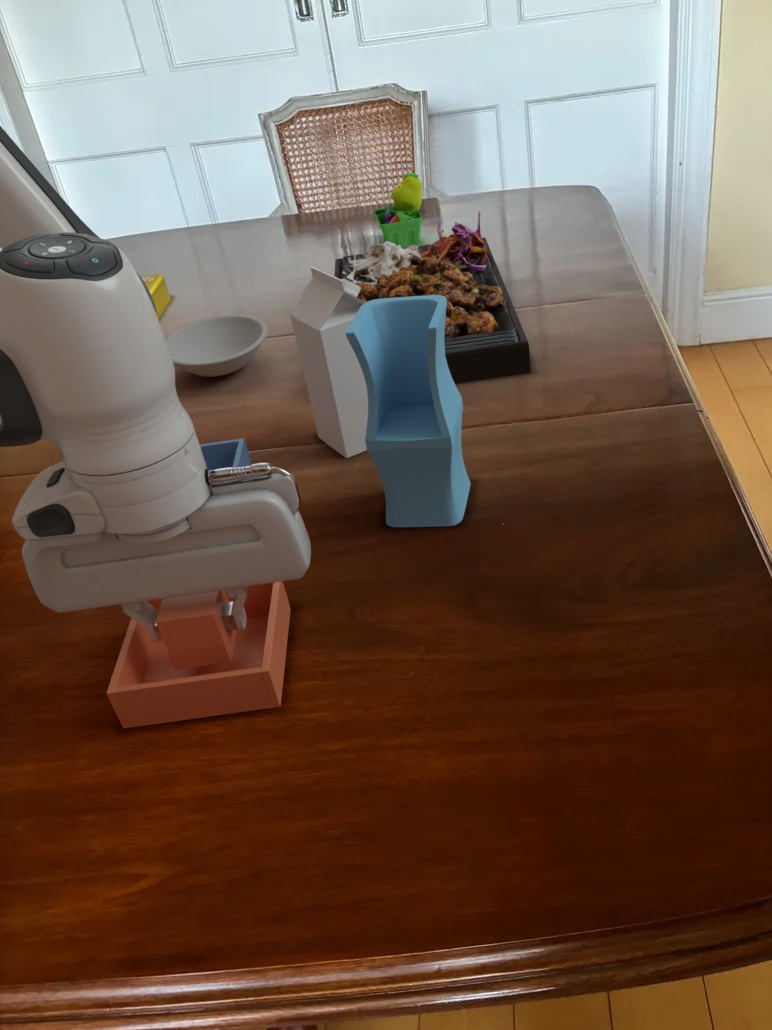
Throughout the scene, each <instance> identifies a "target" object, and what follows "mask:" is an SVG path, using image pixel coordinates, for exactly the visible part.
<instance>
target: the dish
mask: <svg viewBox="0 0 772 1030" xmlns="http://www.w3.org/2000/svg"><path fill="white" fill-rule="evenodd" d="M267 335H268V326H267V324H266V323H265V322H264V321H263V320H262V319H260V318H259V317H255V316H253V315H249V314H237V313H236V314H235V313H234V314H232V313H231V314H220V315H215V316H210V317H206V318H202V319H199V320H196V321H193V322H191V323H188V324H186V325H184V326H182V327H180V328H178V329H177V330H175V331H173V332H172V333H171V334H170V335H168V336H167V337H165V339H166V342H167V345H168V348H169V351H170V354H171V357H172V361H173V364H174V365H176V366H177V367H178V368H180V369H182V370H183V371H185V372H188V373H190V374H193V375H195V376H201V377H220V376H224V375H229V374H231V373H234V372H236V371H238V370H240V369H242V368H243V367H245V366H246V365H247V364H249V363H250V362H251V360H252V359H253V358H254V357H255V356H256V354H257V352H258V351H259V349H260V348H261V345H262V343H263V342H264V341H265V339H266V338H267Z"/></svg>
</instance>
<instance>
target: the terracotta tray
mask: <svg viewBox="0 0 772 1030" xmlns="http://www.w3.org/2000/svg"><path fill="white" fill-rule="evenodd" d="M225 591H226V594H227V597H228V600H229V602H232V601H233V600H234V598H230V597H229V596H228V593H227V590H226V589H225ZM147 602H148V603H149V604H150V605H152V606H153V607H154V608H155V609H156V610H157V611H158V612H159V608H160V605H161V602H162V599H155V600H148V601H147ZM244 609H245V613H246V618H247V621H246V627H245V629H242V630H237V633H236V638H235V644H234V650H233V655H232V661H231V662H229V663H222V664H215V665H208V666H201V667H194V668H187V669H180V670H175V668H174V665H173V663H172V660H171V658H170V656H169V653H168V651H167V648H166V646H165V643H164V641H157V642H153V641H152V639H151V637H150V634H149V632H148V630H147V627H144V626H142V625H141V624H139V623H138V622H137V621H135V620H134V619H132V618H131V617H130V620H129V624H128V627H127V630H126V633H125V636H124V639H123V642H122V644H121V648H120V651H119V653H118V657H117V660H116V663H115V665H114V670H113V672H112V675H111V678H110V681H109V684H108V687H107V690H106V696H107V698H108V700H109V702H110V705H111V706H112V708H113V711H114V713H115V715H116V716H117V719H118V721H119V723H120V725H121V727H122V729H128V728H129V729H130V728H137V727H143V726H151V725H158V724H165V723H171V722H178V721H187V720H194V719H201V718H207V717H216V716H222V715H228V714H229V715H230V714H237V713H245V712H252V711H257V710H258V711H259V710H265V709H266V710H267V709H272V708H273V709H274V708H279V707H281V705H282V696H283V686H284V675H285V669H286V668H285V667H286V659H287V647H288V637H289V628H290V619H291V611H292V609H291V606H290V602H289V598H288V595H287V592H286V588H285V584H284V581H281V582H274V583H267V584H260V585H253V586H249V587H248V593H247V597H246V600H245V603H244Z"/></svg>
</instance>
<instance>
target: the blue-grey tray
mask: <svg viewBox="0 0 772 1030" xmlns="http://www.w3.org/2000/svg"><path fill="white" fill-rule="evenodd" d="M199 444H200V443H199ZM200 447H201V450H202V453H203V457H204V460H205V463H206V466H207V469H208V470H211V469H219V468H226V467H243V466H250V465H251V464H253V463H252V460H251V456H250V453H249V449H248V445H247V443H246V439H245V438H244V437H243V438H242V437H241V438H236V439H228V440H221V441H215V442H208V443H201V444H200Z"/></svg>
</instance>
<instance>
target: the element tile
mask: <svg viewBox="0 0 772 1030" xmlns="http://www.w3.org/2000/svg"><path fill="white" fill-rule="evenodd" d="M140 277H141V278H142V279H143V281H144V282H145V284H146V286H147V287H148V289H149V291H150V293H151V296H152V298H153V301H154V304H155V307H156V312H157V317H158V320H160V318H161V316H162V314H163V313H164V311H165V309H166V308H167V306H168V305H169V303H170V301H171V295H170V292H169V288H168V285H167V282H166V279H165V276H164V275H163V274H161V273H158V274H157V273H156V274H148V275H142V276H141V275H140Z"/></svg>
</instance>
